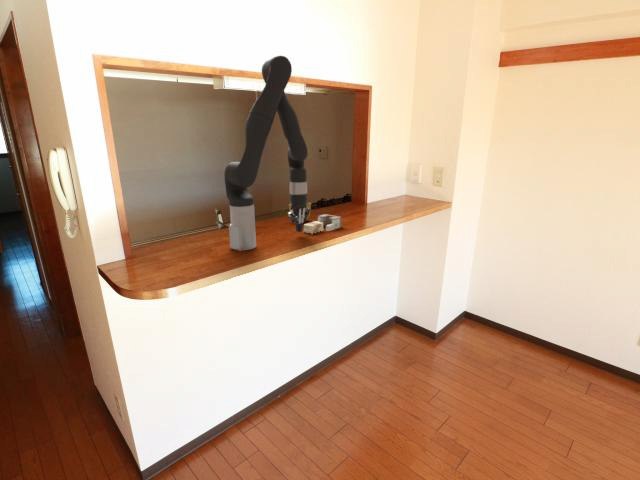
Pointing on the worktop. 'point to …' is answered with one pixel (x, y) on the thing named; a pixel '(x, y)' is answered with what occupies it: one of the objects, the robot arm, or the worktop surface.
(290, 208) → the flower pot
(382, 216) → the worktop surface
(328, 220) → the channel
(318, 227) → the cream pronged block
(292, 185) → the robot arm
